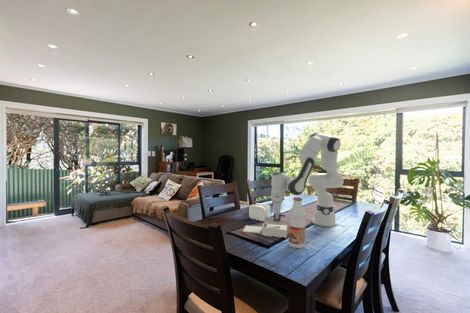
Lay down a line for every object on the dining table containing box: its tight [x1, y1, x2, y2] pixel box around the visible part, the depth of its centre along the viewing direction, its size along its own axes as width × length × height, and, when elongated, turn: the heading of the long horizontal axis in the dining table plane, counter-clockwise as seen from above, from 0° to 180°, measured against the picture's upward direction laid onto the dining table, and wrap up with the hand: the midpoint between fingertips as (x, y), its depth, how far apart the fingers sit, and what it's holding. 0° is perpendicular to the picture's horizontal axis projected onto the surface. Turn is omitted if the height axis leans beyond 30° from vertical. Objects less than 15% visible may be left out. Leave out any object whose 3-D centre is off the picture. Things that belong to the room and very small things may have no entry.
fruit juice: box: [287, 196, 306, 249], centre depth 131 cm, size 9×9×28 cm
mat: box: [242, 224, 262, 235], centre depth 156 cm, size 12×12×1 cm
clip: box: [263, 211, 268, 226], centre depth 154 cm, size 2×11×7 cm, turn 170°
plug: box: [272, 211, 286, 225], centre depth 148 cm, size 5×8×8 cm, turn 77°
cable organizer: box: [248, 202, 271, 222], centre depth 182 cm, size 15×11×12 cm
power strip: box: [261, 223, 288, 239], centre depth 149 cm, size 9×16×6 cm, turn 78°
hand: (277, 217), depth 149 cm, fingers closed on plug, 5 cm apart
